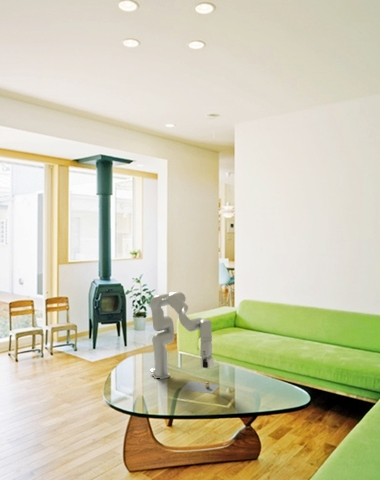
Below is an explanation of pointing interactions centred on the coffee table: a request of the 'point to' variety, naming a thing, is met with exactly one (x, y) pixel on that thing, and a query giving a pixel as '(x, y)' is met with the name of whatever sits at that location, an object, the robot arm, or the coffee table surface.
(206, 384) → the post
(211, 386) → the board
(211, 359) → the white knobbed cube
